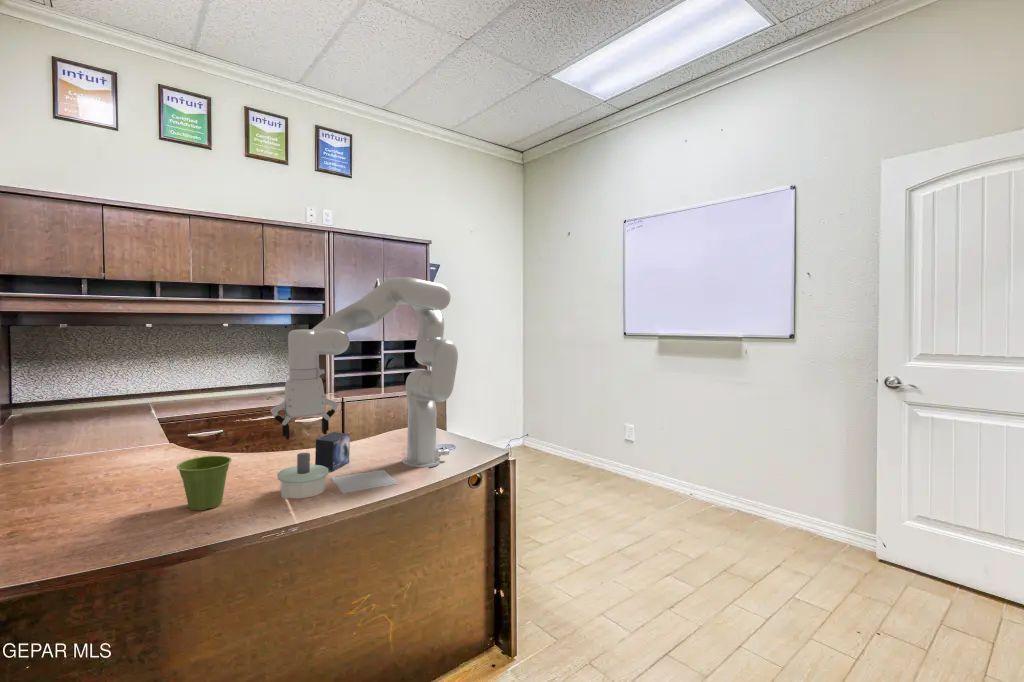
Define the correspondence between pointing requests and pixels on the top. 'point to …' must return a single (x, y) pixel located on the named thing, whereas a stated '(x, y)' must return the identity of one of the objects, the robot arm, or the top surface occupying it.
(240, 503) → the top surface
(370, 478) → the mat
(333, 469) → the small box
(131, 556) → the top surface
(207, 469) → the plant pot
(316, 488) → the bowl
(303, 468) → the lid
